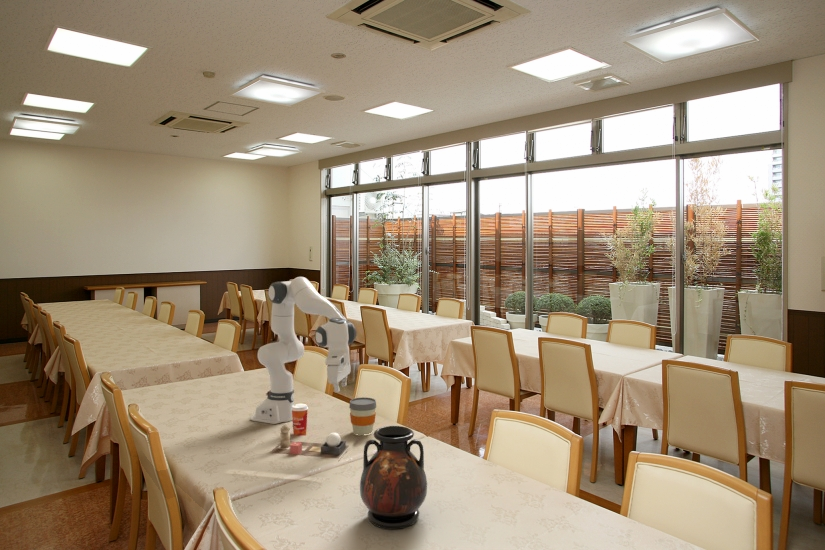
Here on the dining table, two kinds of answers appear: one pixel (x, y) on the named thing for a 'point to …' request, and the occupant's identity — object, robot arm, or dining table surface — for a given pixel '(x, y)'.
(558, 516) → the dining table surface
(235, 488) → the dining table surface
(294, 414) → the paper cup
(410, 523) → the amphora vase
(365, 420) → the reusable coffee cup
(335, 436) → the dome button
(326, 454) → the game board
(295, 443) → the die
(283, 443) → the pawn
